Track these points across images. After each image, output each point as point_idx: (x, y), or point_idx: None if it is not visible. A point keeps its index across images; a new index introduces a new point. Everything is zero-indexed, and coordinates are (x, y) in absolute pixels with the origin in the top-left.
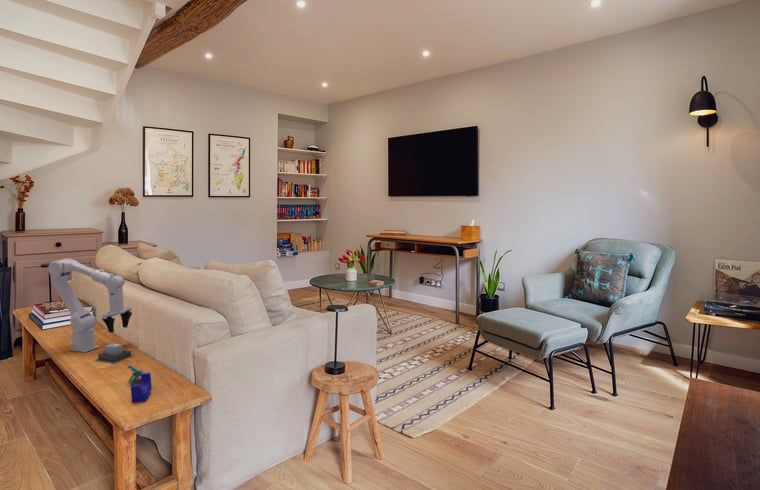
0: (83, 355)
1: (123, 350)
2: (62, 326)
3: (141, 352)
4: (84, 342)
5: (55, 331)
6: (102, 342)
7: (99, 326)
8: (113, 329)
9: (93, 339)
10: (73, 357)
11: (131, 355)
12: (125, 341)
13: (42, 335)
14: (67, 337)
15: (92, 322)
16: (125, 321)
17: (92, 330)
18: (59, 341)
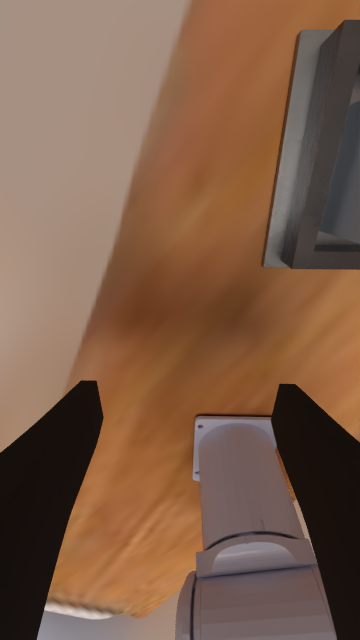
0: (318, 393)
1: (326, 139)
2: (86, 606)
3: (199, 46)
4: (278, 470)
5: (125, 597)
6: (140, 448)
7: None
8: (300, 403)
9: (232, 466)
10: (349, 410)
11: (320, 37)
12: (78, 374)
13: (164, 597)
14: (150, 556)
15: (239, 627)
16: (60, 462)
17: (244, 536)
18: (190, 550)
